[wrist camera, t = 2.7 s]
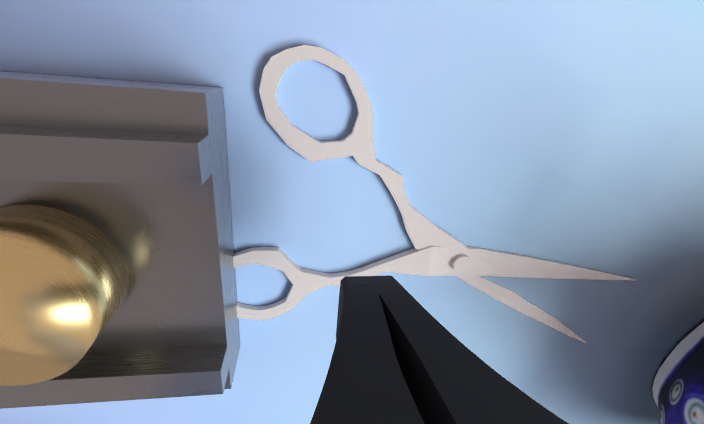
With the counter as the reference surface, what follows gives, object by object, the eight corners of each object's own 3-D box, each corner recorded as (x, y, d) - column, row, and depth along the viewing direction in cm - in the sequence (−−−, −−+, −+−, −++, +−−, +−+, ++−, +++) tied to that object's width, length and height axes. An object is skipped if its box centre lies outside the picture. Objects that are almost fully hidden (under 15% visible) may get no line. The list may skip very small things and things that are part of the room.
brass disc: (141, 324, 10) (107, 379, 9) (-8, 330, 10) (-79, 391, 8) (114, 205, 9) (64, 242, 7) (-68, 203, 8) (-173, 244, 6)
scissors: (220, 0, 9) (703, 224, 14) (227, 5, 9) (684, 216, 15) (148, 310, 12) (556, 394, 18) (156, 296, 13) (546, 382, 18)
